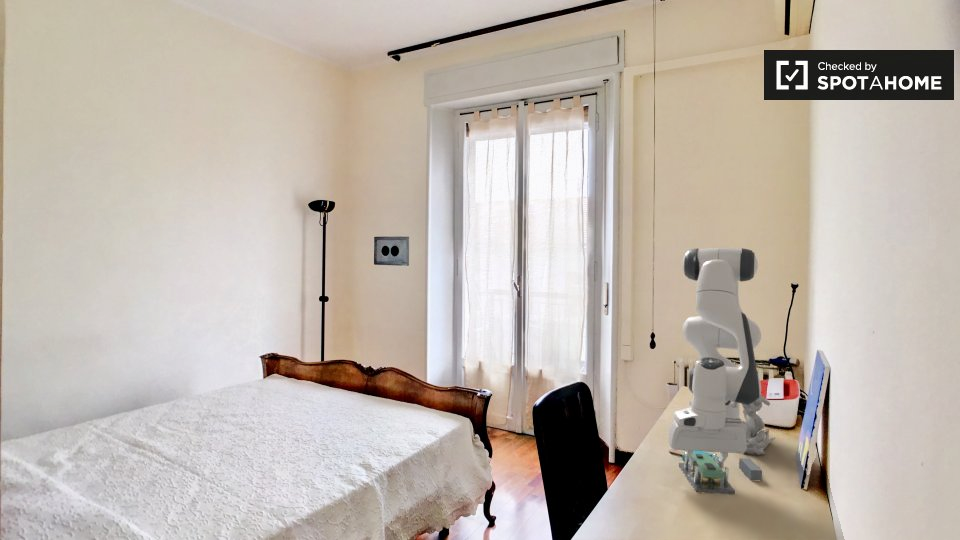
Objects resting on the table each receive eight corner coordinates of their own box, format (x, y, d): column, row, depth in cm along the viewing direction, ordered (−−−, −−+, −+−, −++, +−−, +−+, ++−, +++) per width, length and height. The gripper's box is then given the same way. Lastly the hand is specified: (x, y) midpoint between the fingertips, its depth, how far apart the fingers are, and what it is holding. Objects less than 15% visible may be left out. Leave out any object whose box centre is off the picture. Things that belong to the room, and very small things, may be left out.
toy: (673, 443, 168) (723, 456, 159) (672, 449, 168) (722, 462, 159) (665, 450, 162) (717, 464, 153) (665, 456, 162) (716, 470, 153)
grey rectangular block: (739, 467, 154) (739, 458, 154) (749, 468, 154) (750, 458, 154) (750, 480, 146) (750, 469, 146) (761, 481, 146) (762, 470, 146)
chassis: (678, 466, 155) (679, 447, 154) (713, 467, 154) (714, 449, 154) (695, 492, 139) (696, 471, 139) (735, 494, 138) (736, 474, 138)
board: (689, 458, 152) (689, 451, 152) (708, 459, 152) (709, 452, 152) (702, 476, 140) (703, 469, 140) (724, 478, 140) (724, 470, 140)
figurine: (773, 461, 159) (776, 403, 158) (727, 452, 166) (729, 396, 165) (775, 442, 174) (778, 389, 173) (732, 434, 181) (735, 383, 180)
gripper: (742, 415, 147) (740, 463, 148) (667, 411, 149) (665, 459, 150) (751, 423, 141) (749, 473, 142) (673, 419, 143) (671, 468, 144)
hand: (705, 465), depth 146 cm, fingers open, 6 cm apart
